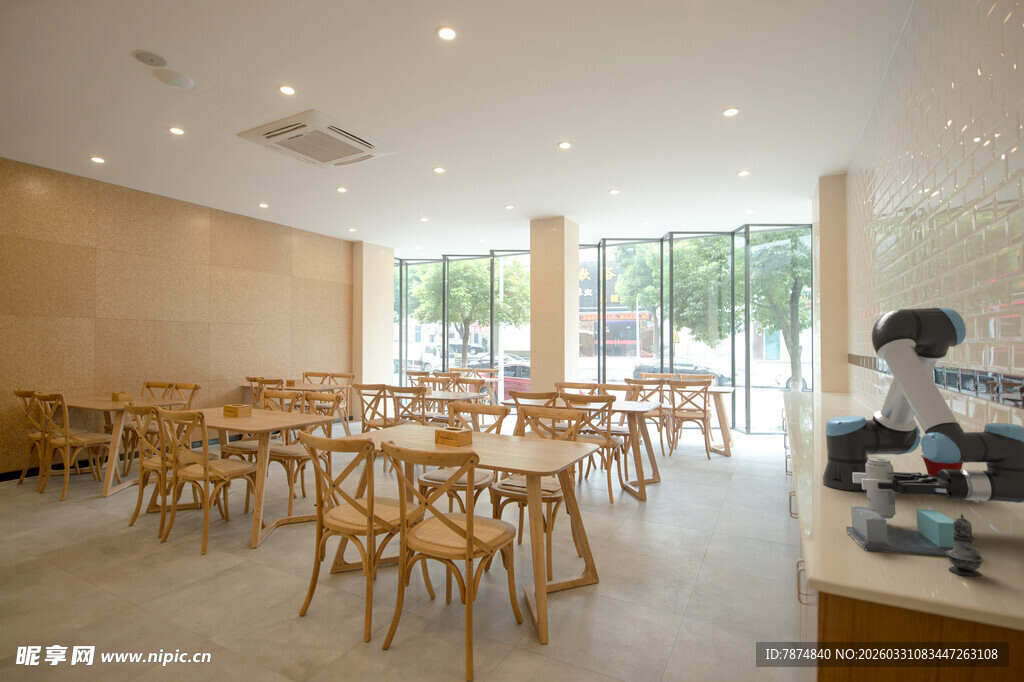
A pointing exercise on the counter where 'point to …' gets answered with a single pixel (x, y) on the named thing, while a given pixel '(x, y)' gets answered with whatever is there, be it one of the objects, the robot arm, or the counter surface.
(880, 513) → the energy drink can
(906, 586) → the counter surface
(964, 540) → the salt shaker
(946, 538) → the sliding jaw
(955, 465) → the plastic cup
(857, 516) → the grey base stand
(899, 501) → the counter surface
